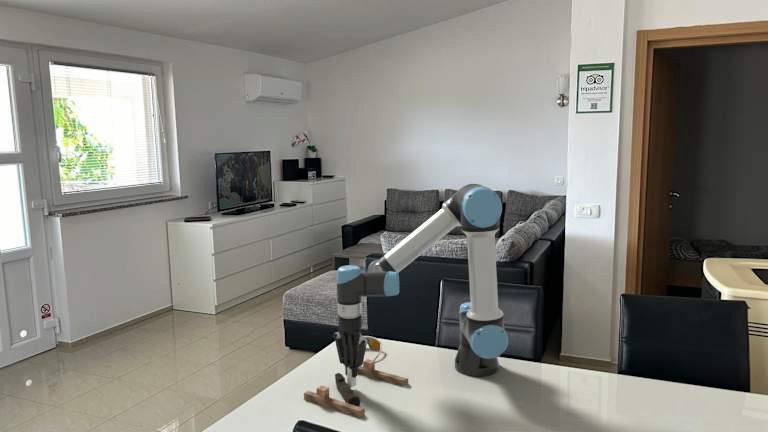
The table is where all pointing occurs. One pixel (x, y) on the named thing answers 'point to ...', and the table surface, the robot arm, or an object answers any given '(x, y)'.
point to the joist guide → (325, 400)
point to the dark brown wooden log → (346, 390)
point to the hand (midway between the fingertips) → (351, 385)
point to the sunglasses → (374, 344)
